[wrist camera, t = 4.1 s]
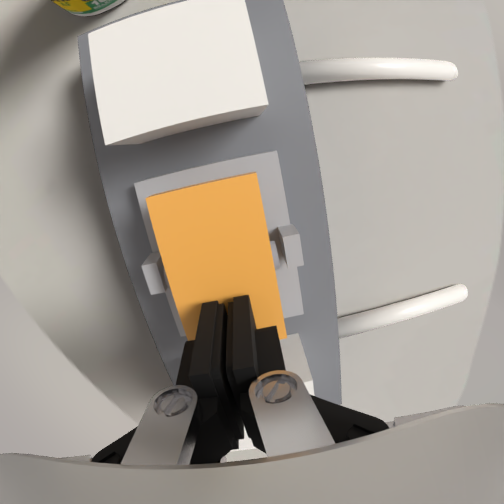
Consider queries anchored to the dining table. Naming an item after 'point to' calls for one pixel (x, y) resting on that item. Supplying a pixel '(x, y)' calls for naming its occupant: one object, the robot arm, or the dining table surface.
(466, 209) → the dining table surface
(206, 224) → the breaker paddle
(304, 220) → the power strip
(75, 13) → the supplement bottle
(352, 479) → the robot arm
